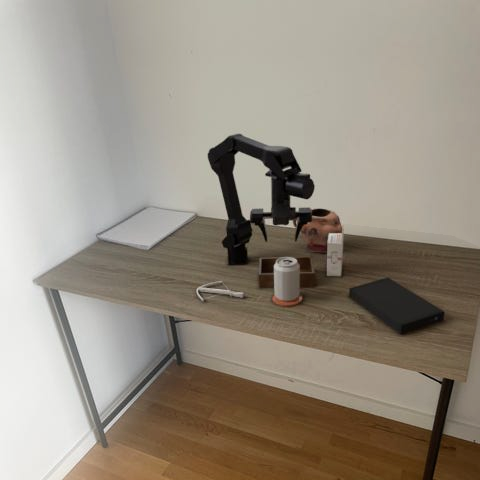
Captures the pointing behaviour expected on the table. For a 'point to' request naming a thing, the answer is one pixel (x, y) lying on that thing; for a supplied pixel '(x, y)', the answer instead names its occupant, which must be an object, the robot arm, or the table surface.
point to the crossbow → (217, 291)
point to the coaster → (288, 303)
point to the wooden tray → (268, 271)
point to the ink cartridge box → (335, 253)
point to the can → (286, 279)
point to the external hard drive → (396, 305)
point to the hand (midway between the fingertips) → (281, 241)
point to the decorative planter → (320, 229)
